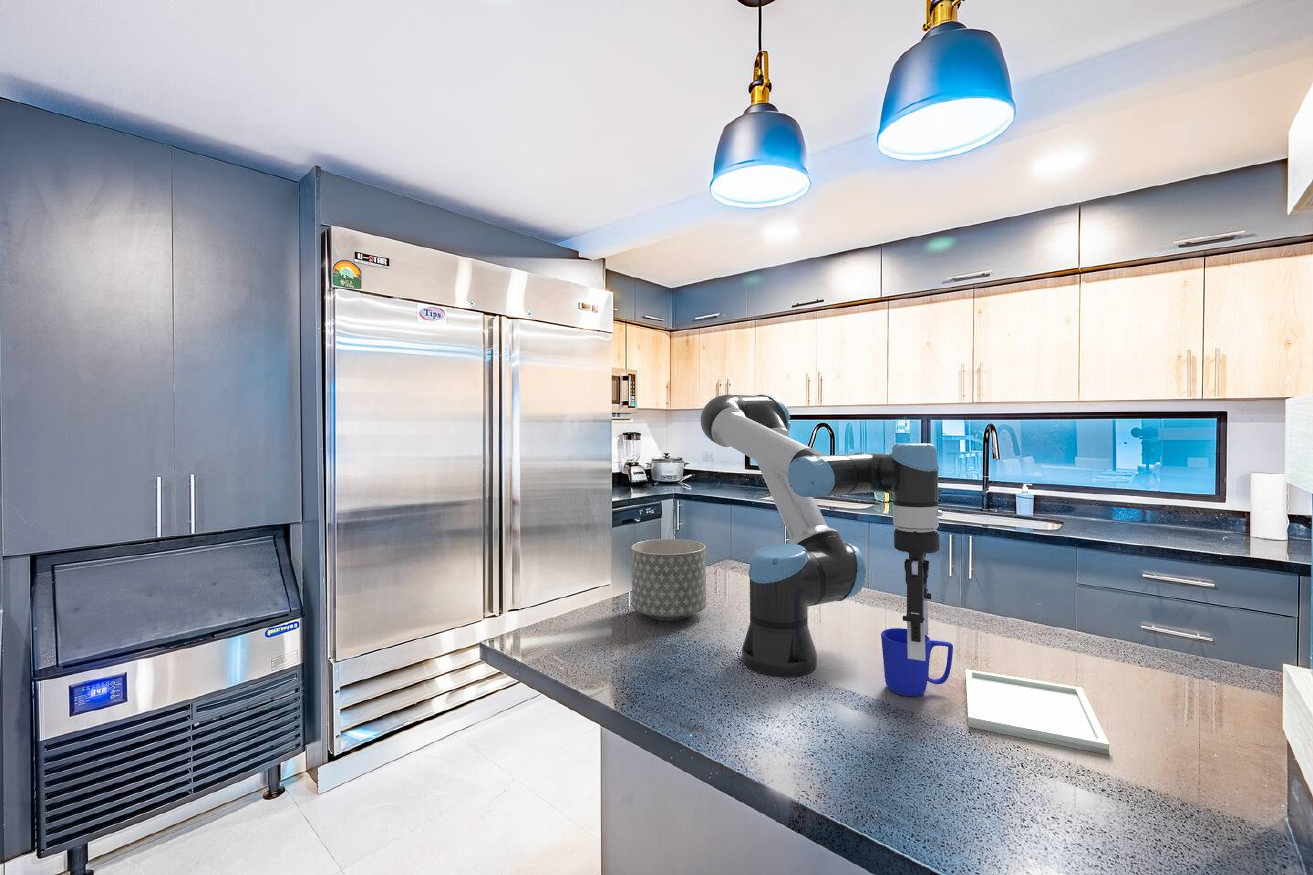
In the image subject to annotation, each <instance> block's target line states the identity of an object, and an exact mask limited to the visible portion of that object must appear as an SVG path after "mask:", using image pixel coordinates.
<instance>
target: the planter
mask: <svg viewBox="0 0 1313 875" xmlns="http://www.w3.org/2000/svg"><path fill="white" fill-rule="evenodd" d="M706 548H707V547H706V545H705V544H704V543H702V542H699V541H697V540H691V539H684V538H682V539H680V538H658V539H649V540H642V541H639V542H635V543H634V544H632V546H631V589H632V590H631V591H632V592H631V598H632V599H631V601H632V602H631V603H632V608H633V609H634V610H635V611H636V612H638V613H641V614H644V615H646V616H648V617H650V618H652V619H654V620H658V621H661V620H662V622H676V621H677V620H678V621H681V620H683V619H686V618H689V617H691V616H693V615H694V614H697V613H700V612H702V611H703V610H704V609H705V608H706V607H707V569H706V568H707V563H706V562H707V560H706V552H707V551H706Z"/></svg>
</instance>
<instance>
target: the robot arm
mask: <svg viewBox="0 0 1313 875" xmlns="http://www.w3.org/2000/svg"><path fill="white" fill-rule="evenodd" d="M790 419H791V415H790V412H789V409H788V407H787V406H786V403H784V402H783V400H781V399H780V398H778V397H776V396H772V395H766V394H757V395H746V394H722V395H718V396H716V397H713V399H711V400H709V401H707V403H706V405H705V406H704V407H703V409H702V411H701V415H700V426H701V429H702V432H703V433H704V436H706V437H707V438H708V439H709V440H710V441H712V442H713V443H714V444H717V445H718V446H720V447H723V448H729V447H731V448H732V449H735V450H736V451H738V452H740V453H741V454H743V455H745V456H747V457H749V458H750V459H752V460H754V461H755V462H756V464H757V467H758V469H759V470H760V473H761V475H762V478H763V479H764V482H765V485H766V486H767V488H768V490H769V493H770V495H771V498H772V499H773V502H774V504H775V506H776V509H777V511H778V513H779V515H780V517H781V520H782V522H783V525H784V526H785V529H786V532H787V533H788V535H789V537H790V540H791V543H781V544H779V543H774V544H768V545H764V546H762V547H760V548H759V547H758V548H757V549H756V550H754V551H753V553H751V556H750V558H749V569H748V578H749V625H748V627H747V631H746V635H745V638H744V641H743V644H742V647H741V660H742V663H743V664H744V666H746V667H747V668H749V669H750V670H752V671H754V672H757V673H760V674H762V675H768V676H774V677H783V678H784V677H788V678H789V677H797V676H803V675H804V676H805V675H807V674H810V673H811V672H813V671H814V670H816V668H817V667H818V654H817V649H816V646H815V644H814V641H813V637H812V635H811V631H810V629H809V625H808V623H809V622H808V620H809V619H808V618H809V616H808V614H809V613H808V612H809V611H808V610H809V609H808V608H809V607H813V606H818V605H823V604H827V603H828V604H829V603H835V602H843V601H844V600H846V599H849V598H853V597H855V596H857V595H858V594H859V593H860V592H862V589H863V588H864V585H865V582H866V581H865V579H866V577H867V565H866V561H865V558H864V555H863V554H862V552H861V550H860V549H859V548H857V546H855V545H853V544H851V543H849V542H844V541H843V539H842V537H841V535H840V532H838V530H837V529H834V528H832V527H829V526H828V524H827V522H826V521H825V519H824V516H823V514H822V512H821V510H820V508H819V507H818V504H817V502H816V500H815V499H817V498H818V499H819V498H822V497H828V496H829V497H830V496H839V495H850V494H851V495H852V494H862V493H882V494H883V493H884V494H889V495H890V494H891V495H892V501H893V502H892V518H893V519H892V522H893V526H894V527H896V528H895V529H894V530H893V547H894V548H895V550H897V551H898V552H903V553H908V558H905V559H904V563H903V565H904V566H903V567H904V572H905V580H904V581H905V584H906V614H905V615H902V621H903V622H906V629H907V644H908V659H915V660H922V661H925V635H927V636H929V607H928V606H929V605H928V604H929V602H928V600H932V593H929V589H928V579H929V572H930V559H926V558H927V557H926V556H927V554H934V553H935V554H936V553H937V552H939V550H940V549H941V548H940V532H939V531H938V528H939V527H940V526H939V524H940V520H939V517H943V515H944V514H943V511H942V510H939V470H940V467H939V465H938V464H939V462H938V451H937V450H938V449H937V447H936V446H935V445H934V444H932V443H926V442H925V443H895V444H893V446H892V447H891V453H887V454H886V453H870V452H869V453H868V452H855V453H849V454H826V453H822V452H820V451H819V450H815V449H814V448H812V447H809V446H807V445H805V444H803V443H801V442H799V441H797V440H795V439H793V438H791V437H789V435H790V434H789V431H790V428H791V422H790V421H789V420H790Z"/></svg>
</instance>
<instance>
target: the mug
mask: <svg viewBox="0 0 1313 875" xmlns="http://www.w3.org/2000/svg"><path fill="white" fill-rule="evenodd" d="M880 638H881V648H882V660H883V661H882V662H883V669H884V670H883V673H884V680H885V684H886V687H887V688H888V689H889V690H890V691H891V692H893V693H894V694H897V695H900V696H903V697H904V696H905V697H917V696H919V697H920V696H921V695H923V694H924V693H925V692H926V689H927V685H928V683H930V684H933V685H941V684H944V683H945V682H946V681H948V678H949V676H950V674H951V668H952V662H953V653H954V646H953V643H951V642H949V641H943V640H932V639H931V638H930V637H929V635H925V661H922V660H915V659H908V644H907V628H903V627H902V628H901V627H894V628H887V629H883V631H881V633H880ZM934 647H947V655H946V656H947V659H946V666H945V670H944V673H943V674H942V675H941V677H939V678H937V679H934V678H930V677H929V676H930V675H929V674H930V673H929V670H930V658H931V654H932V653H931V652H932V650H933V648H934Z"/></svg>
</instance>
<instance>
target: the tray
mask: <svg viewBox="0 0 1313 875" xmlns="http://www.w3.org/2000/svg"><path fill="white" fill-rule="evenodd" d="M965 689H966V707H967V710H966V711H967V727H968V728H971V729H978V730H982V731H988V732H993V733H998V734H1003V735H1008V736H1011V737H1012V736H1013V737H1018V738H1022V739H1026V740H1027V739H1028V740H1031V741H1032V740H1033V741H1038V742H1042V743H1046V744H1053V745H1057V746H1061V747H1062V746H1063V747H1067V748H1073V749H1078V750H1083V751H1087V752H1091V753H1097V754H1103V755H1106V756H1109V755H1110V743H1109V741H1108V739H1107V737H1106V735H1105V733H1104V731H1103V729H1102V727H1101V724H1100V722H1099V720H1098V719H1097V716H1096V715H1095V714H1096V713H1094V710H1093V708H1092V706H1091V704H1090V702H1089V700H1088V698H1087V696H1086V694H1085V692H1084V689H1083V687H1080V686H1073V685H1066V684H1062V683H1061V684H1060V683H1055V682H1054V683H1053V682H1049V681H1044V680H1043V681H1042V680H1038V679H1037V680H1035V679H1029V678H1023V677H1018V676H1011V675H1004V674H998V673H994V672H993V673H991V672H986V671H979V670H975V669H974V670H973V669H967V668H966V669H965Z"/></svg>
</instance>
